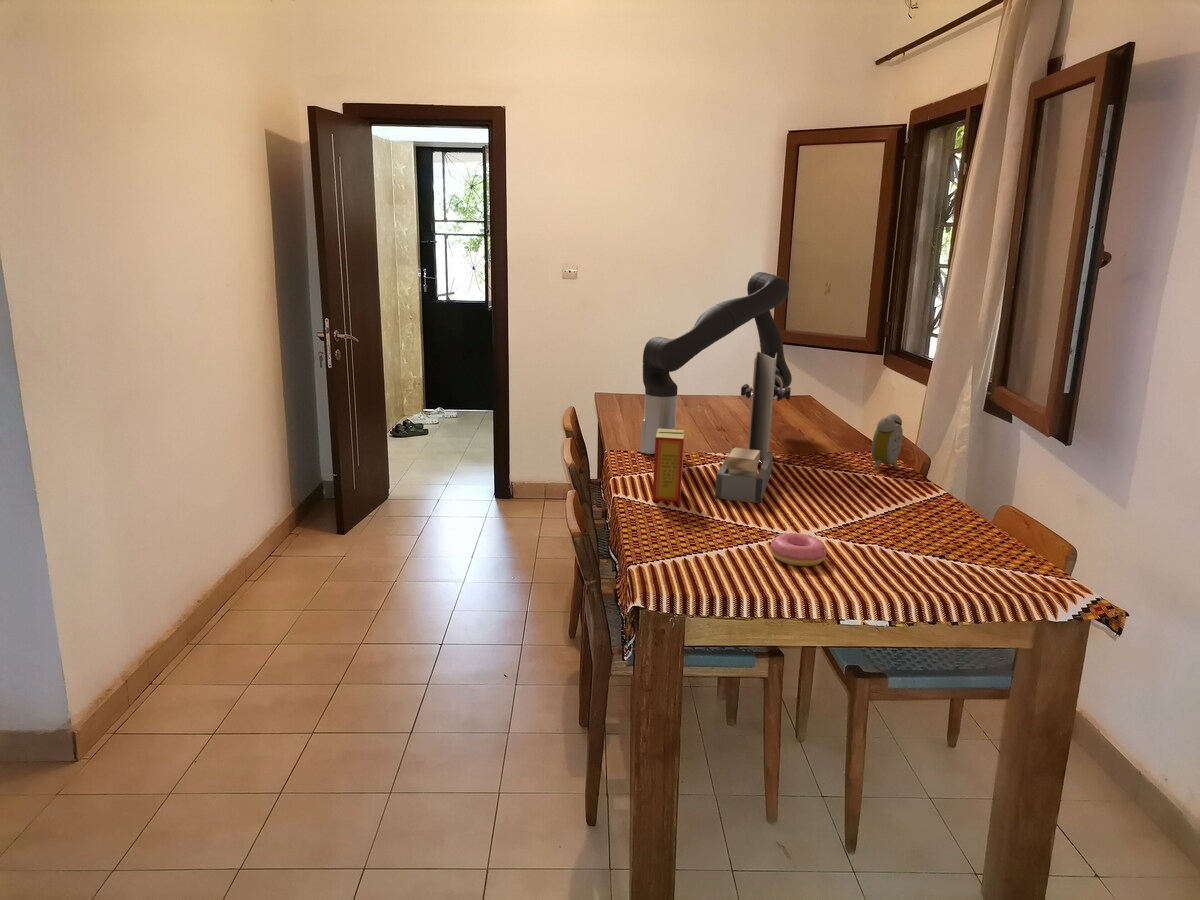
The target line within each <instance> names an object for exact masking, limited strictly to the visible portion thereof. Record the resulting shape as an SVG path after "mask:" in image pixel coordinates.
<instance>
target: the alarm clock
mask: <svg viewBox="0 0 1200 900" xmlns="http://www.w3.org/2000/svg"><path fill="white" fill-rule="evenodd" d="M902 425H903V420H902V418H901V416H900V415H898V414H896V413H891V414H888V415H887V416H885V417H883V418H880V419H879V421H878V422H877V426H876V428H875V431H874V434H873V437H872V441H871V442H872V443H871V449H870V450H871V458H872V460H873V462H874V467H873V470H874V471H875V470H876V471H877V470H878V468H879V467H880V466H881V464H884V465H889V466H891V465H892V467H893V468H894V469H895V470H896V471H899V470H900V468H899V465H898V462H897V461H898V459H899V456H900V453H901V450H902V444H903V438H904V437H903V436H904V434H903V433H904V432H903V427H902Z"/></svg>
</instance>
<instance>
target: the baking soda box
mask: <svg viewBox="0 0 1200 900" xmlns="http://www.w3.org/2000/svg"><path fill="white" fill-rule="evenodd" d="M685 431H686V429H679V428H678V429H677V428H675V429H663V428H658V430H657V434H656V439H655V455H654V462H653V478H652V479H653V480H652V482H653V484H652V500H655V501H654V502H659V501H669V502H668V503H674V502H680V503H681V497H682V496H681V495H682V482H683V481H682V480H683V468H684V467H683V466H684V450H685V448H684V446H685ZM652 500H651V501H652Z"/></svg>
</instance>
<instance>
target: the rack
mask: <svg viewBox="0 0 1200 900" xmlns="http://www.w3.org/2000/svg"><path fill="white" fill-rule="evenodd" d="M734 448H735V447H734ZM734 448H733V447H732V448H731V449H730V451H729V452H728V454H727V456H728V455H729V454H730V453H731V452H732V450H733V449H734ZM727 456H726V458H725V459H724V461H723V463H722V464H721V465H720V468H719V469H718V471H717V473H716V474H715V476H716V478H715V488H714V491H715V493H714V499H719V500H728V501H729V500H730V501H735V500H736V502H746V503H752V502H753V504H760V503H762V502H763V501H762V500H763V498H764V495H765V493H766V489H767V487H768V484H769V482H768V481H770V479H771V476H772V472H773V471H772V470H773V458H774V452H773V451H772V452H771V451H769V452H767V454H766V457H765V459H764V461H763V464H762V463H761V466H760V469H759V472H757V475H758V476H757V477H751V476H743V475H734V474H729V469H727V468H726V467H727ZM770 475H771V476H770ZM769 478H770V479H769ZM764 492H765V493H764Z"/></svg>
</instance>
